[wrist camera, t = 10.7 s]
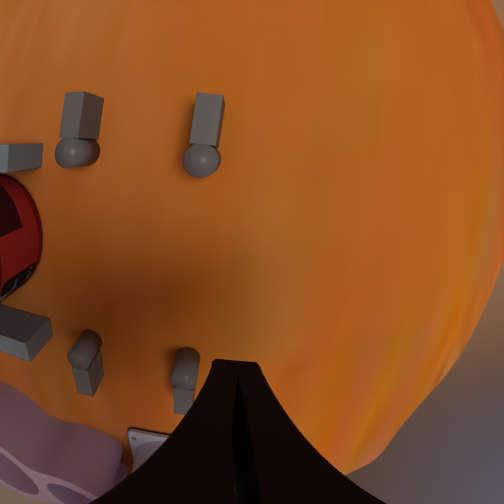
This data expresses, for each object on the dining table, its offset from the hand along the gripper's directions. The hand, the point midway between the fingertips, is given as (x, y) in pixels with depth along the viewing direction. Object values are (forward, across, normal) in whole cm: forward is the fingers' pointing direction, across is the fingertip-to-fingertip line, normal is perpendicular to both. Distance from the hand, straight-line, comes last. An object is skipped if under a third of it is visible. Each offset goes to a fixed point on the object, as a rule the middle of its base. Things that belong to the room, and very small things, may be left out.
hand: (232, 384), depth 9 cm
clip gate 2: (+9, +2, 0) cm, 10 cm away
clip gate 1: (+9, +9, 0) cm, 13 cm away
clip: (+10, +18, +21) cm, 29 cm away
